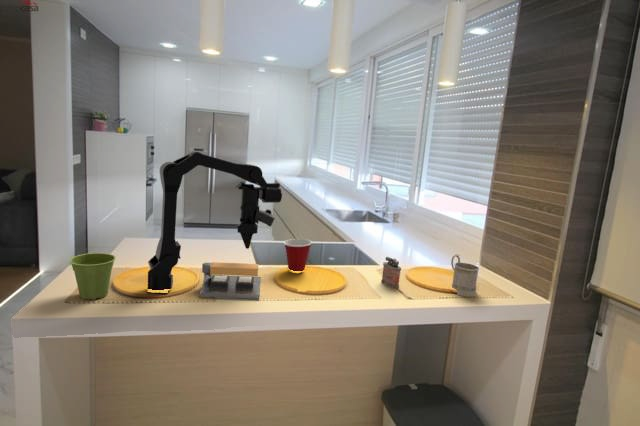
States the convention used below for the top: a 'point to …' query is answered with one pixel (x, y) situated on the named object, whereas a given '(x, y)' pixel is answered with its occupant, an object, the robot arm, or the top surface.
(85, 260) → the plant pot
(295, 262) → the plastic cup
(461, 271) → the mug
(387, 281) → the lighter
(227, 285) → the power supply chassis
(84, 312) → the top surface
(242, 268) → the wooden plank
